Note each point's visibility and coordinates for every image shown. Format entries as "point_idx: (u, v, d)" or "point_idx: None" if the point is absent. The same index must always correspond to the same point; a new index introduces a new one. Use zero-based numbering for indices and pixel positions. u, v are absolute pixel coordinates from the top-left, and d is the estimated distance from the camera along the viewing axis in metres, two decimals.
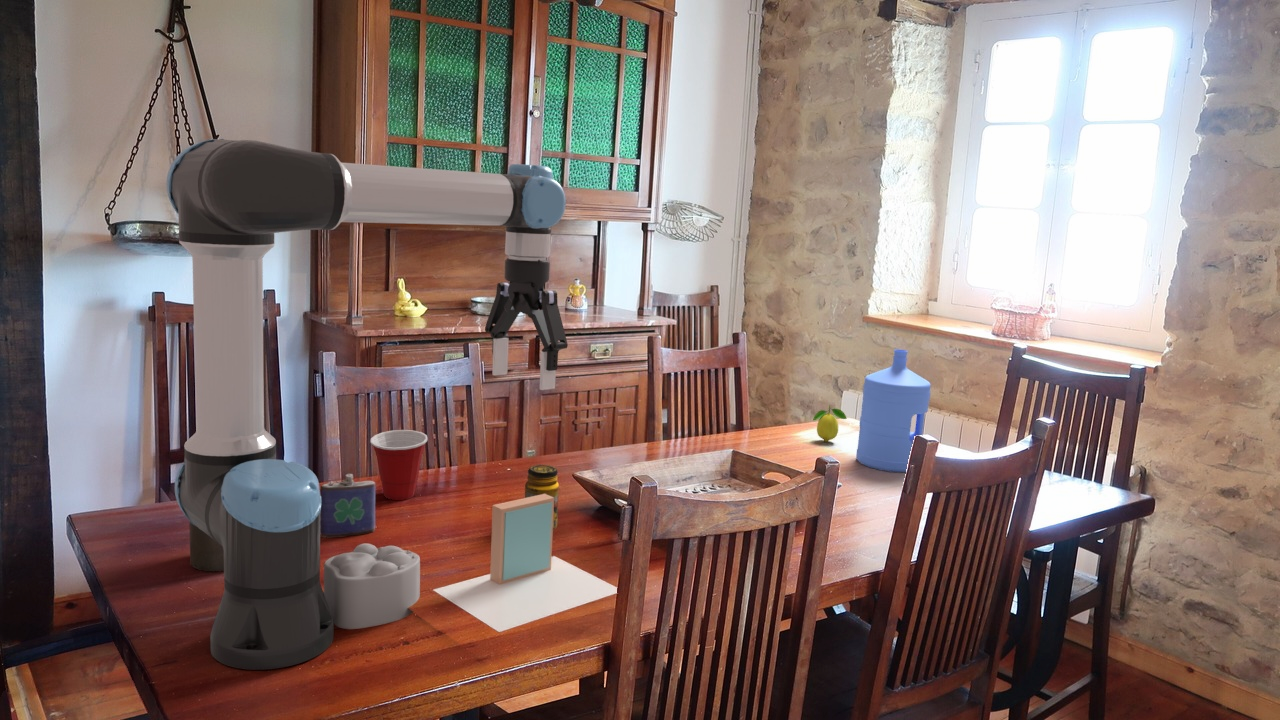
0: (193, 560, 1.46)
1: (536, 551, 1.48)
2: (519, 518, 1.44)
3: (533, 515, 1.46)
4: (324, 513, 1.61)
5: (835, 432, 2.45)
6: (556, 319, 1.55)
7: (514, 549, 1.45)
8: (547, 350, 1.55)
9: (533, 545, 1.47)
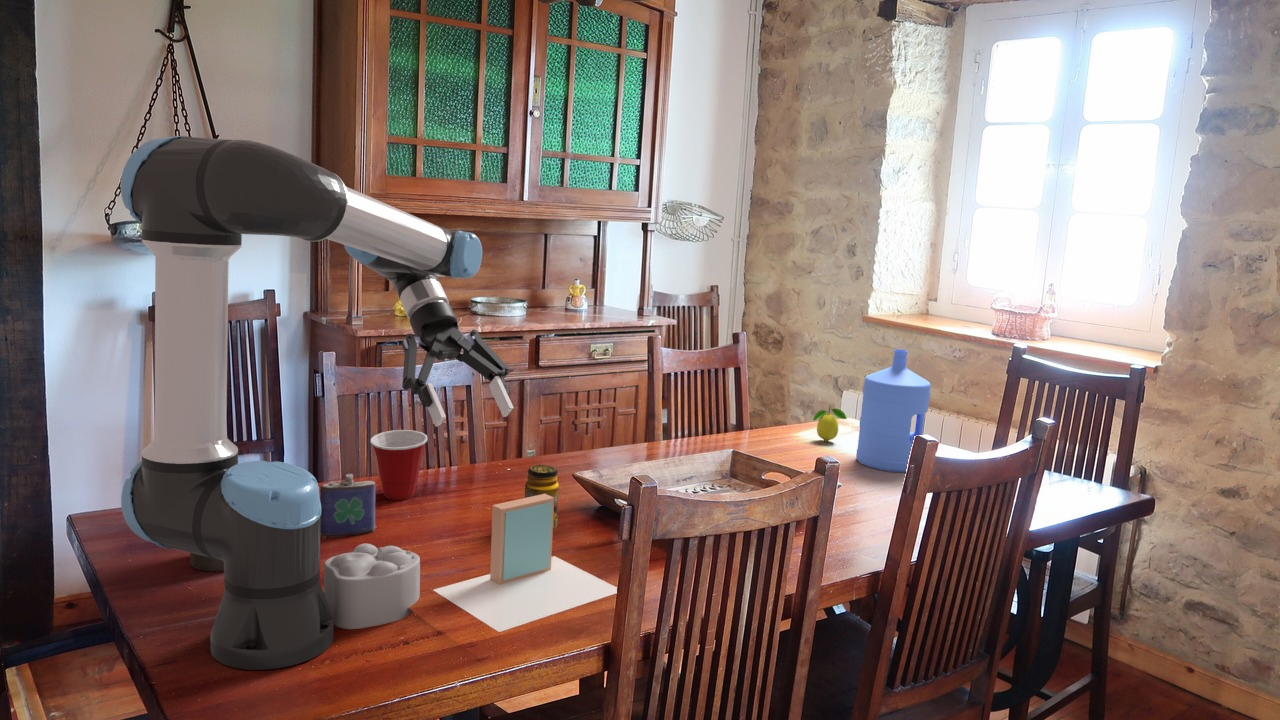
0: (193, 560, 1.46)
1: (536, 551, 1.48)
2: (519, 518, 1.44)
3: (533, 515, 1.46)
4: (324, 513, 1.61)
5: (835, 432, 2.45)
6: None
7: (514, 549, 1.45)
8: (503, 373, 1.62)
9: (533, 545, 1.47)
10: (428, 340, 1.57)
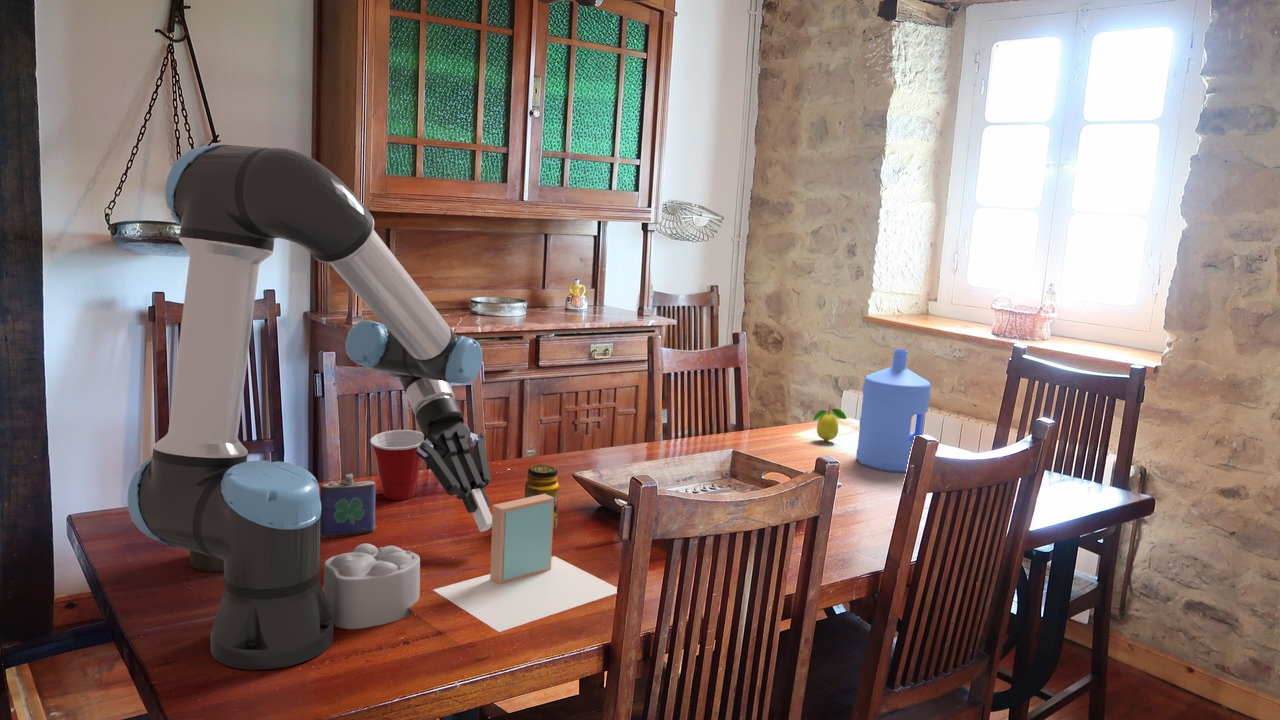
0: (193, 560, 1.46)
1: (536, 551, 1.48)
2: (519, 518, 1.44)
3: (533, 515, 1.46)
4: (324, 513, 1.61)
5: (835, 432, 2.45)
6: None
7: (514, 549, 1.45)
8: (483, 486, 1.57)
9: (533, 545, 1.47)
10: (437, 437, 1.58)
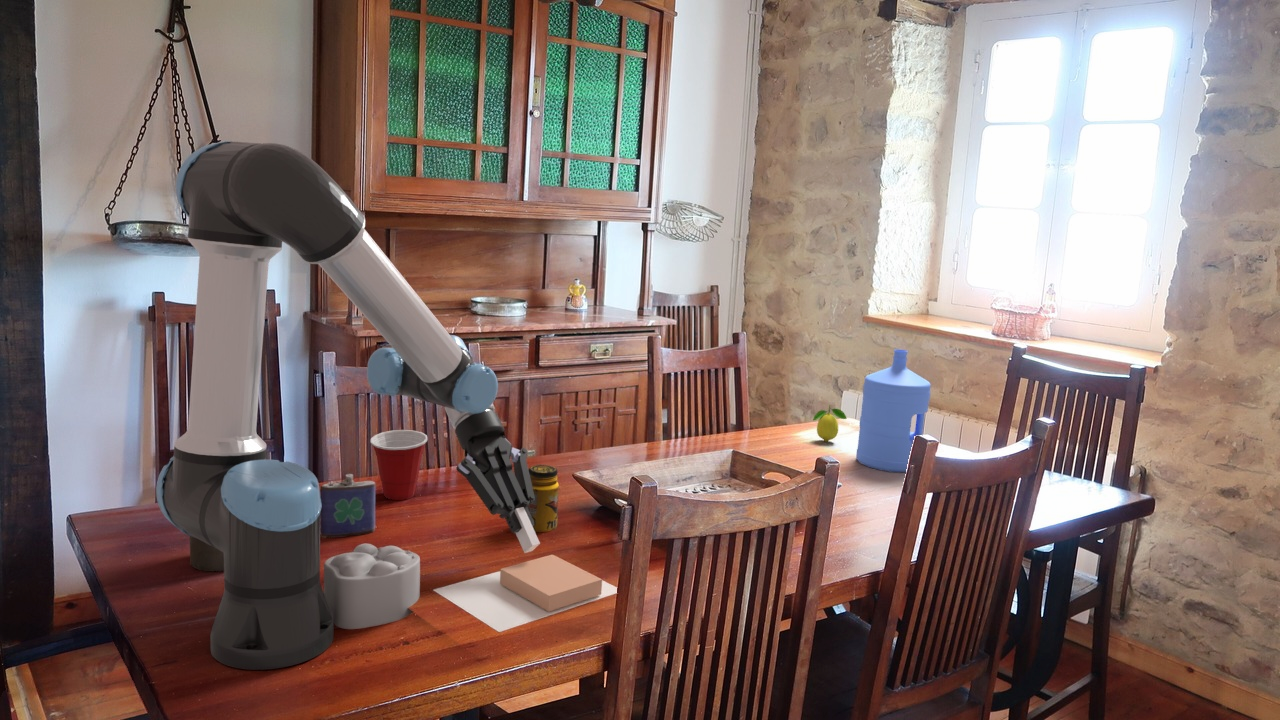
0: (193, 560, 1.46)
1: None
2: None
3: None
4: (324, 513, 1.61)
5: (835, 432, 2.45)
6: None
7: None
8: (527, 505, 1.50)
9: None
10: (479, 453, 1.51)
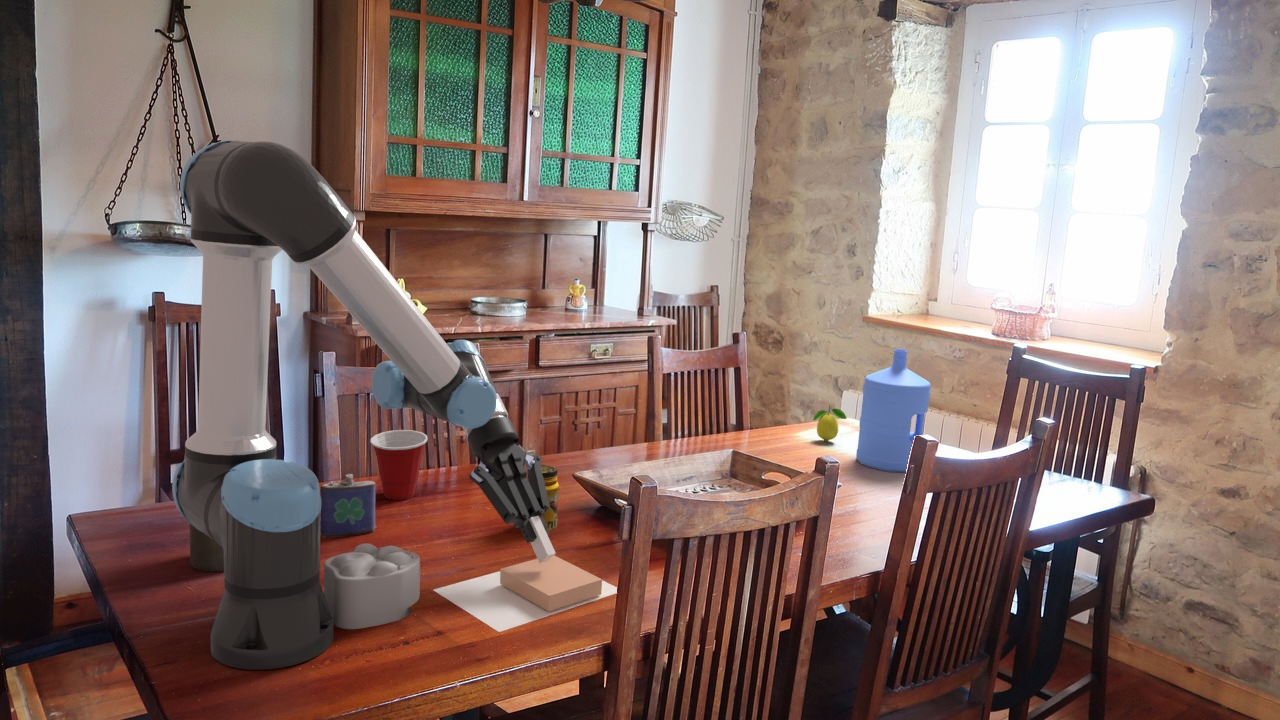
0: (193, 560, 1.46)
1: None
2: None
3: None
4: (324, 513, 1.61)
5: (835, 432, 2.45)
6: None
7: None
8: (541, 513, 1.46)
9: None
10: (492, 460, 1.47)
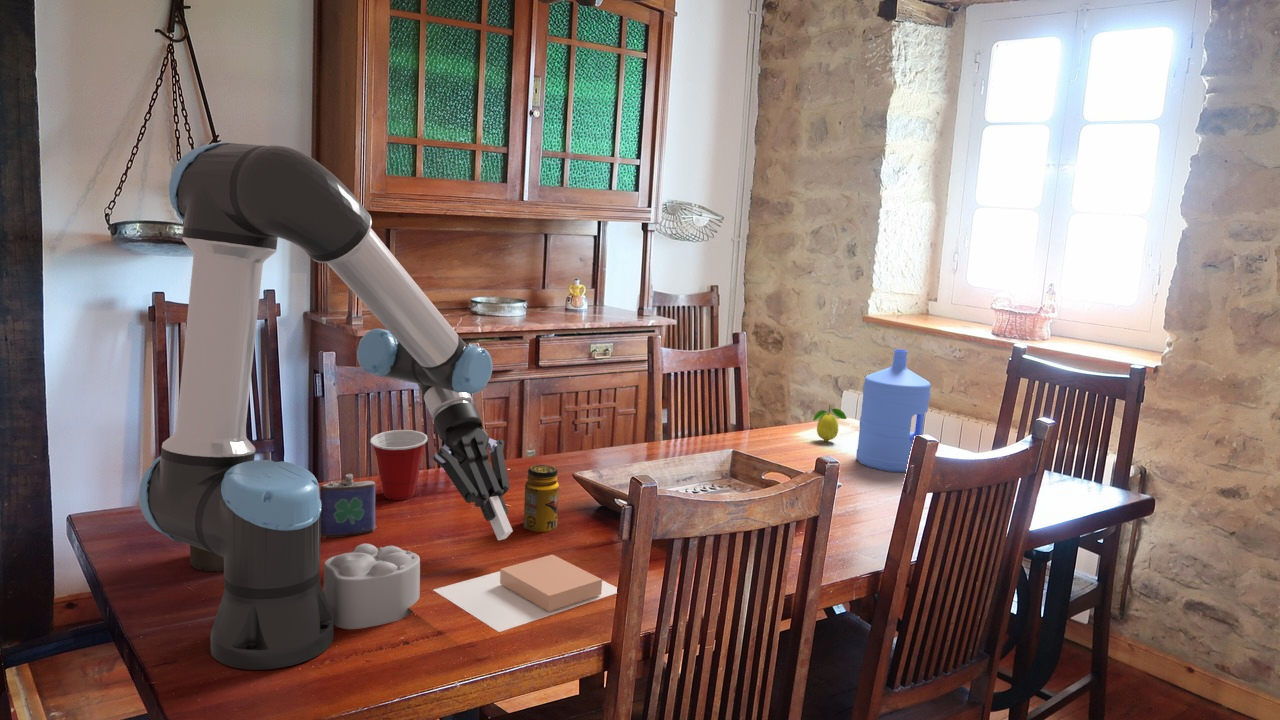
0: (193, 560, 1.46)
1: None
2: None
3: None
4: (324, 513, 1.61)
5: (835, 432, 2.45)
6: None
7: None
8: (501, 493, 1.54)
9: None
10: (455, 443, 1.56)
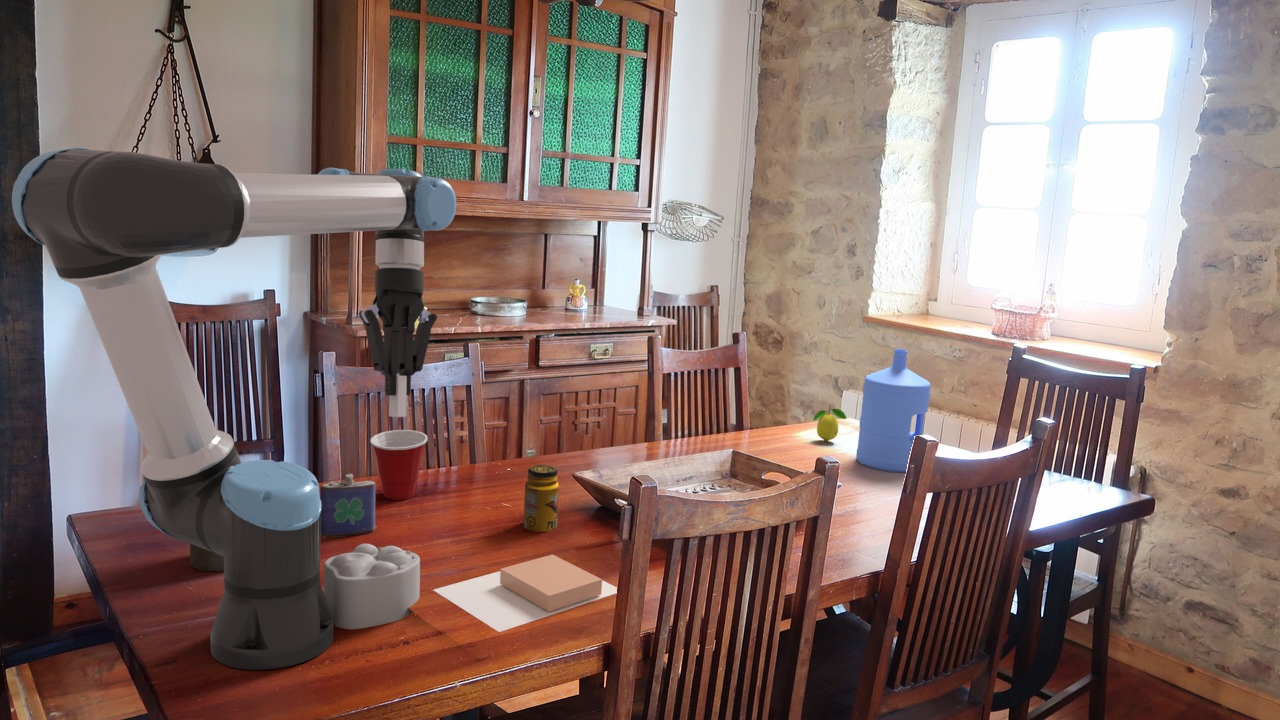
0: (193, 560, 1.46)
1: None
2: None
3: None
4: (324, 513, 1.61)
5: (835, 432, 2.45)
6: None
7: None
8: (410, 375, 1.51)
9: None
10: (387, 307, 1.48)
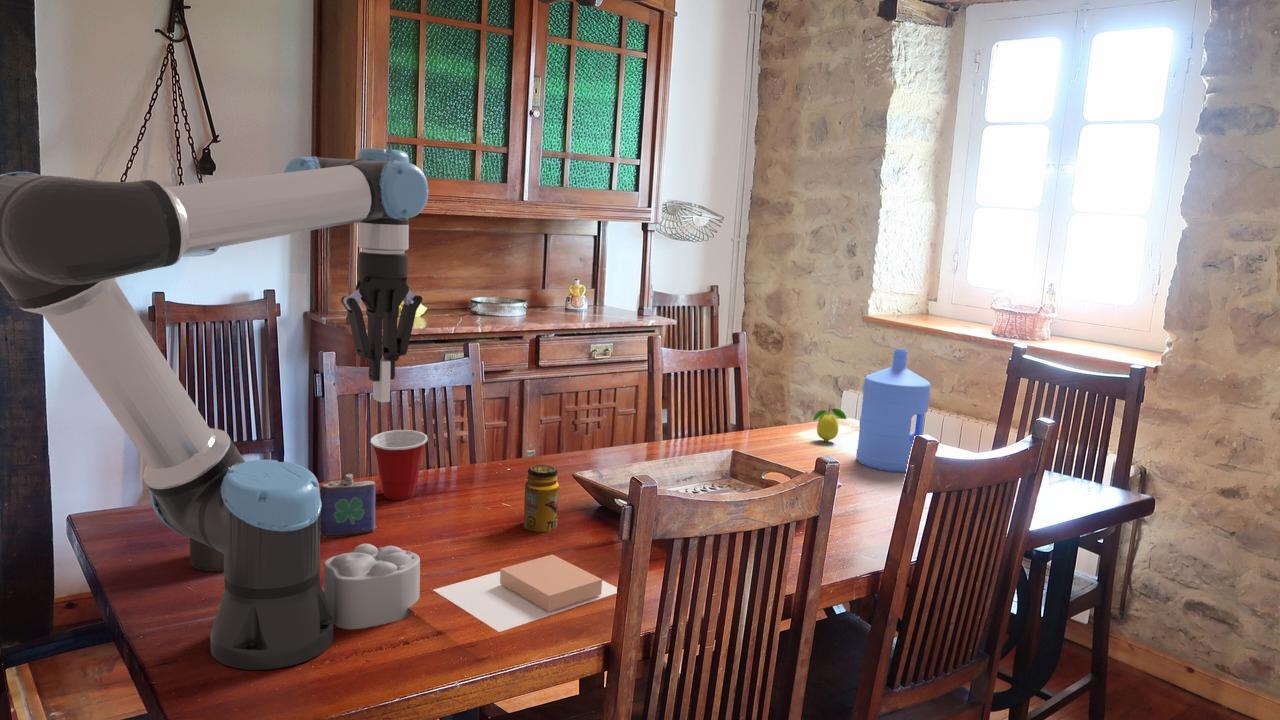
0: (193, 560, 1.46)
1: None
2: None
3: None
4: (324, 513, 1.61)
5: (835, 432, 2.45)
6: None
7: None
8: None
9: None
10: (369, 294, 1.44)
